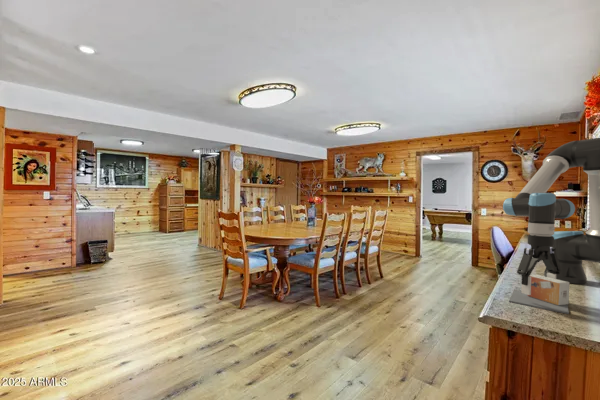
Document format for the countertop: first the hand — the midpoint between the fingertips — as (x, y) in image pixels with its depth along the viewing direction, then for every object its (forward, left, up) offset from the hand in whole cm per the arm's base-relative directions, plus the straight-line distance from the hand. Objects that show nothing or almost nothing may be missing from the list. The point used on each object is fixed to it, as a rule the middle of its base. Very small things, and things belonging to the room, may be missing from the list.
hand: (538, 292), depth 108 cm
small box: (-3, +7, +1) cm, 7 cm away
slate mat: (0, 0, -3) cm, 3 cm away
